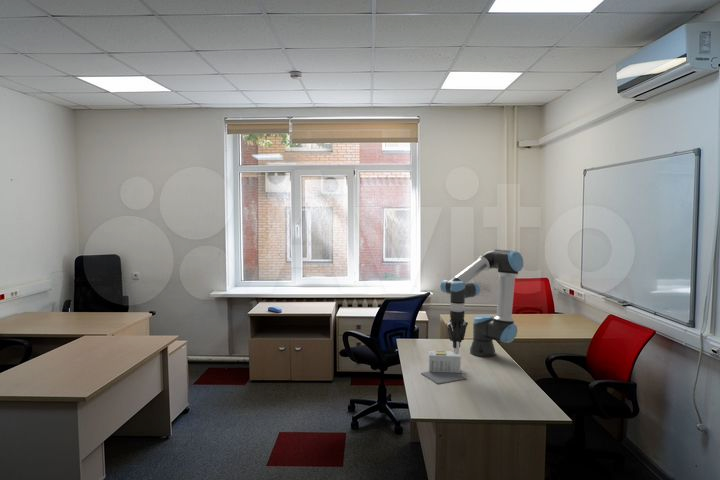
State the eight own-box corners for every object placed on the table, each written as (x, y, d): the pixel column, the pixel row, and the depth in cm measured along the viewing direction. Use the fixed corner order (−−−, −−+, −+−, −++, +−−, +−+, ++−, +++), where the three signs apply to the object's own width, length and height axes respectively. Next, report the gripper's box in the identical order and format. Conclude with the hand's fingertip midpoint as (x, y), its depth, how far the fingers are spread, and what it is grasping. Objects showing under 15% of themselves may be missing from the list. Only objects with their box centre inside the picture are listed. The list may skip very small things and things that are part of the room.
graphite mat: (448, 369, 261) (448, 368, 261) (466, 379, 246) (466, 377, 246) (421, 373, 253) (421, 372, 253) (437, 384, 239) (437, 383, 239)
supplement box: (460, 356, 252) (429, 355, 254) (460, 373, 253) (429, 372, 255) (459, 351, 262) (428, 350, 264) (458, 367, 262) (428, 366, 264)
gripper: (463, 307, 257) (462, 350, 258) (443, 309, 251) (442, 353, 253) (471, 310, 250) (470, 354, 251) (451, 312, 244) (450, 357, 246)
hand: (456, 353), depth 252 cm, fingers closed
